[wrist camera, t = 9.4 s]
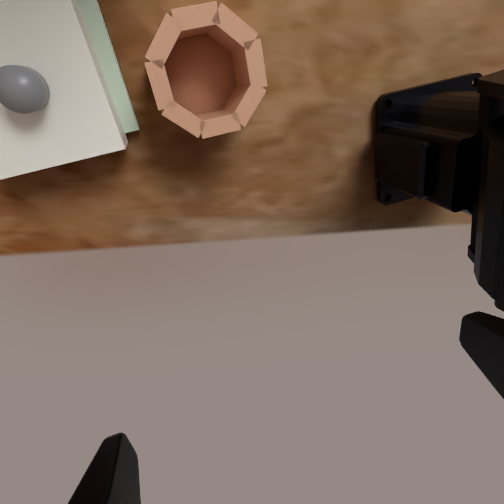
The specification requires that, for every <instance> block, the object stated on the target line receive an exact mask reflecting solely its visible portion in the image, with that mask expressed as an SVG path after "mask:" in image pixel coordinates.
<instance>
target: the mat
mask: <svg viewBox="0 0 504 504" xmlns="http://www.w3.org/2000/svg"><path fill="white" fill-rule="evenodd" d="M77 1H78V4H79V7H80V10H81V12H82V15H83V18H84V21H85V24H86V26H87V29H88V32H89V35H90V37H91V40H92V43H93V46H94V49H95V51H96V54H97V57H98V60H99V62H100V65H101V68H102V71H103V74H104V76H105V79H106V82H107V85H108V87H109V90H110V93H111V96H112V98H113V101H114V104H115V107H116V110H117V112H118V115H119V118H120V121H121V123H122V126H123V129H124V132H125V133H128V132H132V131H137V130H139V129H140V128H139V125H138V122H137V119H136V116H135V113H134V110H133V107H132V104H131V101H130V98H129V95H128V92H127V89H126V86H125V83H124V80H123V77H122V73H121V70H120V67H119V64H118V61H117V58H116V55H115V52H114V49H113V46H112V43H111V40H110V37H109V34H108V31H107V28H106V25H105V22H104V19H103V16H102V13H101V10H100V7H99V4H98V1H97V0H77Z"/></svg>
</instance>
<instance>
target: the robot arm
mask: <svg viewBox="0 0 504 504" xmlns="http://www.w3.org/2000/svg"><path fill="white" fill-rule="evenodd" d="M473 80H474V83H473V85H472V81H473ZM386 100H388V105H387V107H386V108H385V107H384V103H385V101H386ZM375 178H376V179H377V200H378V201H379V202H380V203H382V204H384V205H389V204H393V203H396V202H400V201H403V200H407V199H410V198H414V197H416V198H418V199H425V200H427V201H429V202H432V203H434V204H436V205H438V206H441V207H443V208H445V209H448V210H450V211H452V212H458V211H462V212H464V213H467V214H469V215H471V216H472V228H471V244H470V245H469V246H468V257H469V258H470V259H471V261H472V262H473V263H474V273H475V276H476V279H477V282H478V284H479V285H480V286H481V287H482V288H483V289H484V290H485V291H486V292H487V293H488V294H489V295H490V296H491V297H492V298H493V299H494V300H495V302H494V303H495V306H496V307H497V308H498V309H500V310H502V311H504V70H501V71H498V72H495V73H492V74H489V75H486V76H483V77H482V75H481V74H480V73H470V74H466V75H461V76H457V77H453V78H449V79H445V80H441V81H436V82H432V83H428V84H424V85H420V86H415V87H411V88H407V89H403V90H399V91H394V92H390V93H386V94H383V95H381V96H380V97H379V98H378V100H377V102H376V137H375ZM386 194H388V196H387V198H386V199H384V197H385V195H386ZM459 339H460V342H461V345H462V347H463V348H464V349H465V351H466V352H467V353H468V355H469V356H470V357H471V359H472V360H473V361H474V362H475V364H476V365H477V366H478V367H479V369H480V370H481V371H482V373H483V374H484V375H485V376H486V378H487V379H488V380H489V381H490V383H491V384H492V385H493V387H495V389H496V390H497V391H498V393H499V394H500V395H501V396H502V398H503V399H504V319H502V318H499V317H496V316H493V315H490V314H487V313H483V312H479V311H478V312H473V313H471V314H467V315H465V316H464V317H463V318H462V323H461V329H460V338H459ZM68 504H141V500H140V484H139V469H138V458H137V454H136V452H135V450H134V448H133V447H132V445H131V443H130V441H129V440H128V438H127V436H126V435H125V434H124V433H118V434H115V435H112V436H109V437H107V438H106V439H105V440H104V441H103V442H102V444H101V446H100V447H99V449H98V451H97V453H96V455H95V456H94V458H93V460H92V462H91V463H90V465H89V467H88V469H87V471H86V472H85V474H84V476H83V477H82V479H81V481H80V483H79V485H78V486H77V488H76V490H75V492H74V493H73V495H72V497H71V499H70V501H69V502H68Z"/></svg>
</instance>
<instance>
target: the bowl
mask: <svg viewBox="0 0 504 504" xmlns="http://www.w3.org/2000/svg"><path fill="white" fill-rule="evenodd" d="M257 35H258V34H257V33H256V32H255V31H254V30H253V29H252V28H250V27H249V26H248V25H247V24H246V23H245V22H243V21H242V20H241V19H240V18H239V17H238V16H237V15H235V14H234V13H233V12H232V11H231V10H230V9H228V8H227V7H226V6H225V5H224V4H223V3H220V5H219V6H218V7H217V2H216V1H213V2H208V3H202V4H197V5H192V6H187V7H181V8H176V9H171V11H170V15H169V14H168V13H166V15H165V17H164V19H163V21H162V23H161V25H160V27H159V29H158V31H157V33H156V35H155V37H154V39H153V41H152V43H151V45H150V47H149V49H148V51H147V53H146V55H145V59H146V61H147V62H145V63H144V64H145V67H146V70H147V74H148V77H149V80H150V84H151V87H152V90H153V94H154V97H155V101H156V104H157V107H158V110H161V114H162V115H163V116H164V117H166V118H168V119H169V120H171V121H172V122H174V123H175V124H177V125H179V126H180V127H182V128H183V129H185V130H186V131H188V132H190V133H191V134H193V135H194V136H196V137H197V138H199V136H201V137H202V138H203V139H204V138H209V137H213V136H217V135H221V134H225V133H229V132H234V131H238V130H241V127H240V125H242V126H244V127H245V126H246V124H247V122H248V121H249V119H250V117H251V116H252V114H253V112H254V111H255V109H256V107H257V106H258V104H259V103H260V101H261V99H262V98H263V96H264V94H265V93H266V90H265V89H264V88H262V87H265V86H267V79H266V72H265V66H264V59H263V52H262V45H261V39H257V40H255V38H256V37H257Z"/></svg>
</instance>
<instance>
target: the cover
mask: <svg viewBox="0 0 504 504" xmlns="http://www.w3.org/2000/svg"><path fill="white" fill-rule="evenodd" d="M127 145H128V140H127V137H126V135H125V132H124V129H123V126H122V123H121V121H120V118H119V115H118V112H117V110H116V107H115V104H114V101H113V98H112V96H111V93H110V90H109V87H108V85H107V82H106V79H105V76H104V74H103V71H102V68H101V65H100V62H99V60H98V57H97V54H96V51H95V49H94V46H93V43H92V40H91V37H90V35H89V32H88V29H87V26H86V24H85V21H84V18H83V15H82V12H81V10H80V7H79V4H78V1H77V0H0V180H1V179H5V178H9V177H14V176H18V175H22V174H26V173H30V172H34V171H38V170H42V169H46V168H50V167H54V166H58V165H62V164H66V163H71V162H75V161H79V160H83V159H87V158H91V157H95V156H99V155H103V154H107V153H111V152H115V151H119V150H123V149H126V147H127Z"/></svg>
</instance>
